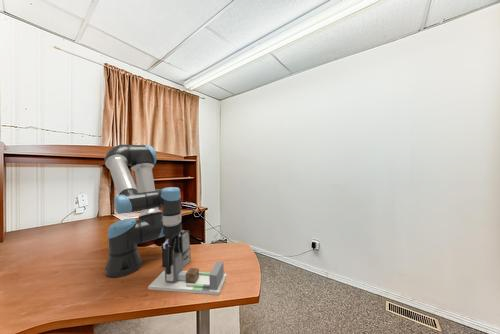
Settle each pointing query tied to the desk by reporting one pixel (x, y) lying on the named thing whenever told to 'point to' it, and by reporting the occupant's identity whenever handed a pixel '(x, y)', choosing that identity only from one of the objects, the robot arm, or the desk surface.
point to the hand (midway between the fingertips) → (174, 275)
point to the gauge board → (203, 285)
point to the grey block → (177, 268)
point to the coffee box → (185, 247)
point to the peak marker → (192, 275)
